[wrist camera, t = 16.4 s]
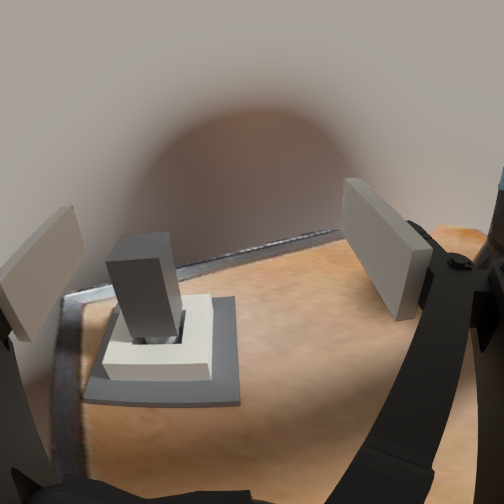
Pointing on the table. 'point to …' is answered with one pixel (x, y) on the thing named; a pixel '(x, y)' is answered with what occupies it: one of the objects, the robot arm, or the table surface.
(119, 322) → the socket
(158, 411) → the table surface
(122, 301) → the plug
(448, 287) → the robot arm
